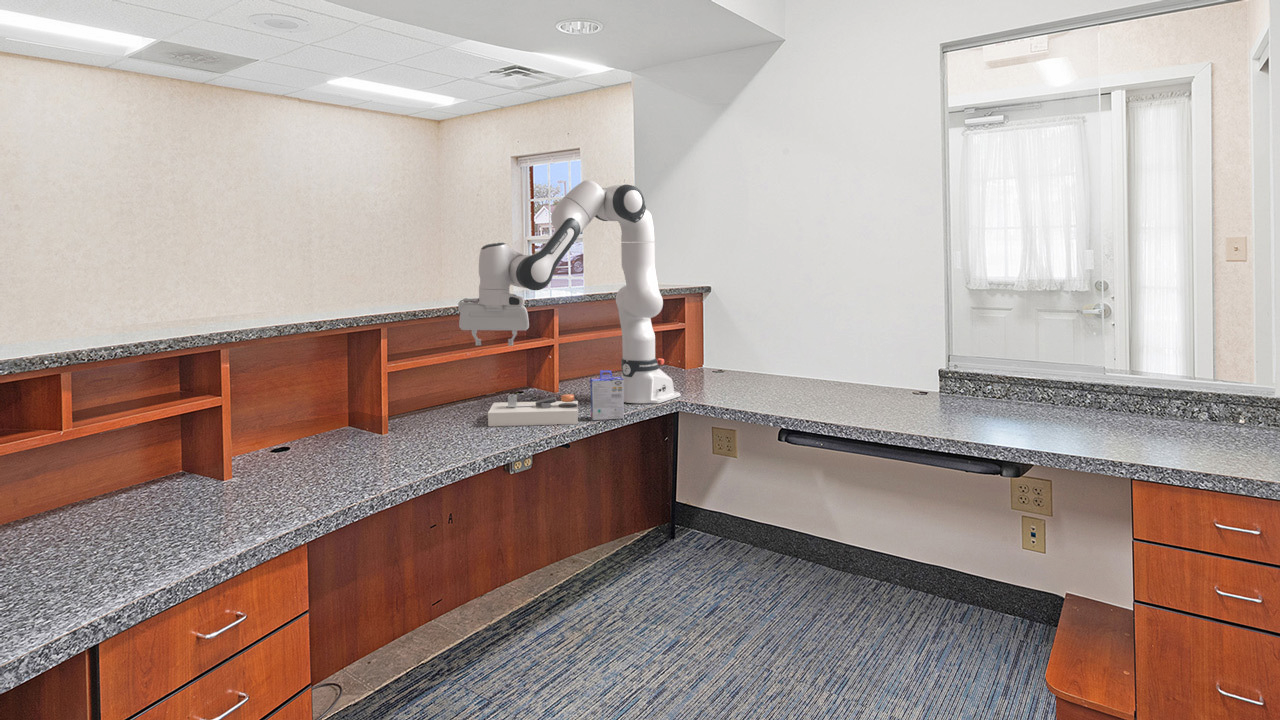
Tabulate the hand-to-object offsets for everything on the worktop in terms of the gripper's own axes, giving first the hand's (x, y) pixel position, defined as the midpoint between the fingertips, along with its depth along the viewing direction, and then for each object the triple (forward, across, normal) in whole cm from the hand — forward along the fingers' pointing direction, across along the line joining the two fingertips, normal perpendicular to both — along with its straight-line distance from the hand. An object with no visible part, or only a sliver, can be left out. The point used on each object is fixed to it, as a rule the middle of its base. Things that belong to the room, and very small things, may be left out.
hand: (494, 345), depth 214 cm
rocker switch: (+17, +15, -1) cm, 23 cm away
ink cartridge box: (+22, +34, -2) cm, 40 cm away
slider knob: (+18, +5, 0) cm, 19 cm away
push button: (+17, +22, -1) cm, 27 cm away
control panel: (+22, +12, -1) cm, 25 cm away
